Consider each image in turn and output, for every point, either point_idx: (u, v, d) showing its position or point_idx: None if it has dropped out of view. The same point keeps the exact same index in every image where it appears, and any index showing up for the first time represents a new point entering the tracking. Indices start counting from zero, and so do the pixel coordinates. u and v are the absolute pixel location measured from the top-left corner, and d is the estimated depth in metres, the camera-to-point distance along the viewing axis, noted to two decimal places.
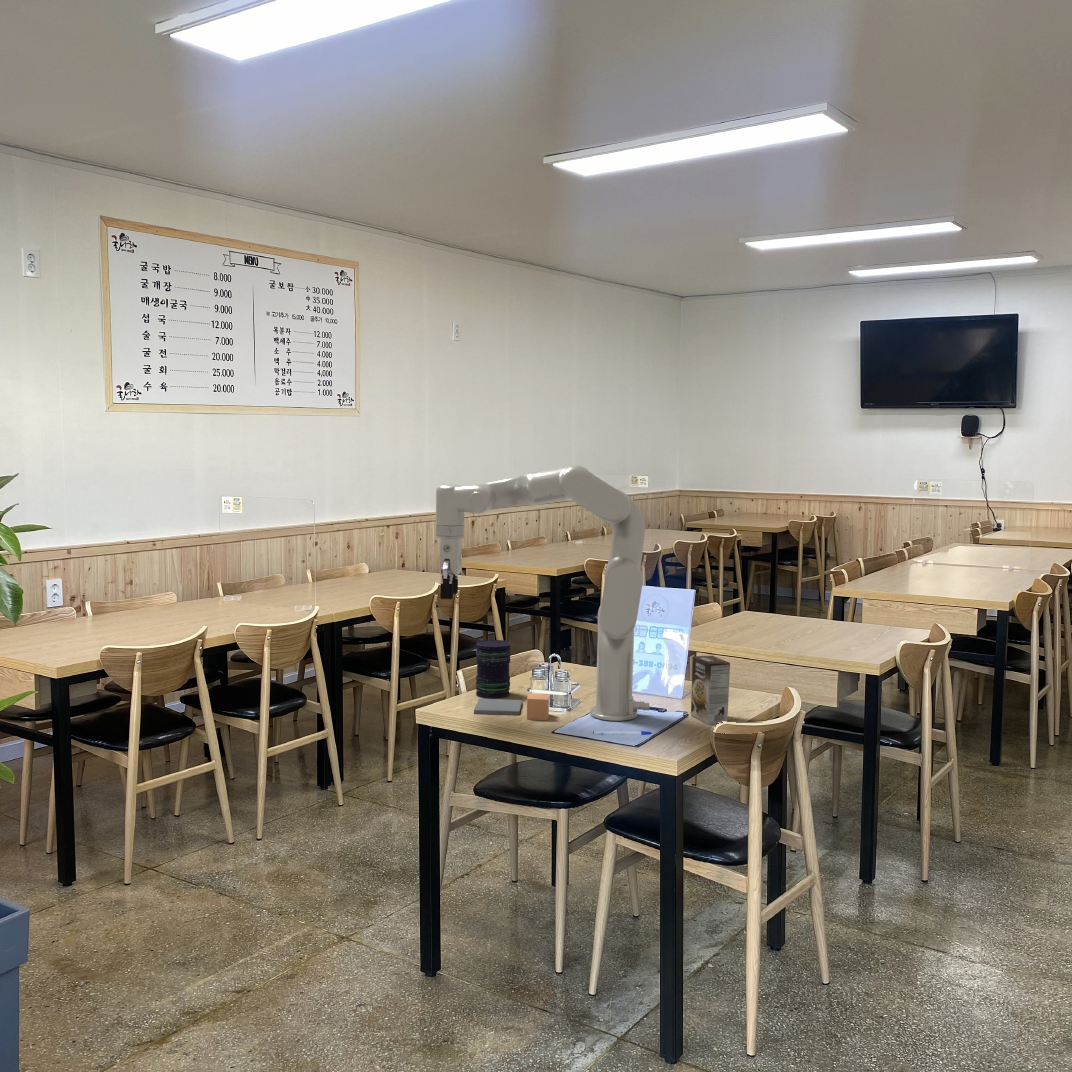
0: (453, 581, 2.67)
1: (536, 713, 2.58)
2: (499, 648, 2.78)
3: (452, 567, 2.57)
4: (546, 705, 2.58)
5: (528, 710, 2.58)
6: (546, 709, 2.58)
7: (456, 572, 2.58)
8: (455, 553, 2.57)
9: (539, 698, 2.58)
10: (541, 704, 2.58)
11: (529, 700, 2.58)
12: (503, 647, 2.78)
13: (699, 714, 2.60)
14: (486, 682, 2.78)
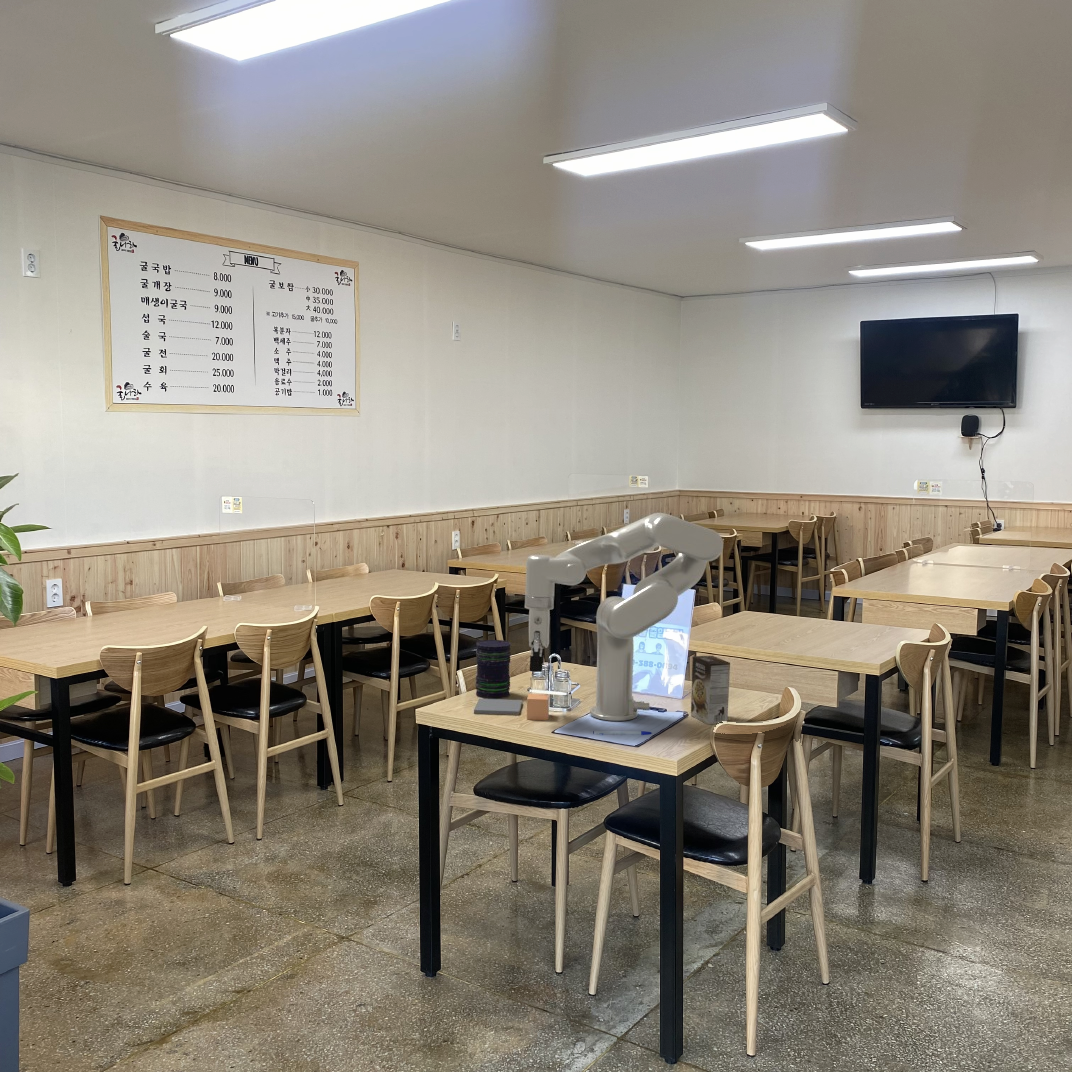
0: None
1: (536, 713, 2.58)
2: (499, 648, 2.78)
3: (542, 639, 2.54)
4: (546, 705, 2.58)
5: (528, 710, 2.58)
6: (546, 709, 2.58)
7: (546, 644, 2.54)
8: (546, 625, 2.54)
9: (539, 698, 2.58)
10: (541, 704, 2.58)
11: (529, 700, 2.58)
12: (503, 647, 2.78)
13: (699, 714, 2.60)
14: (486, 682, 2.78)
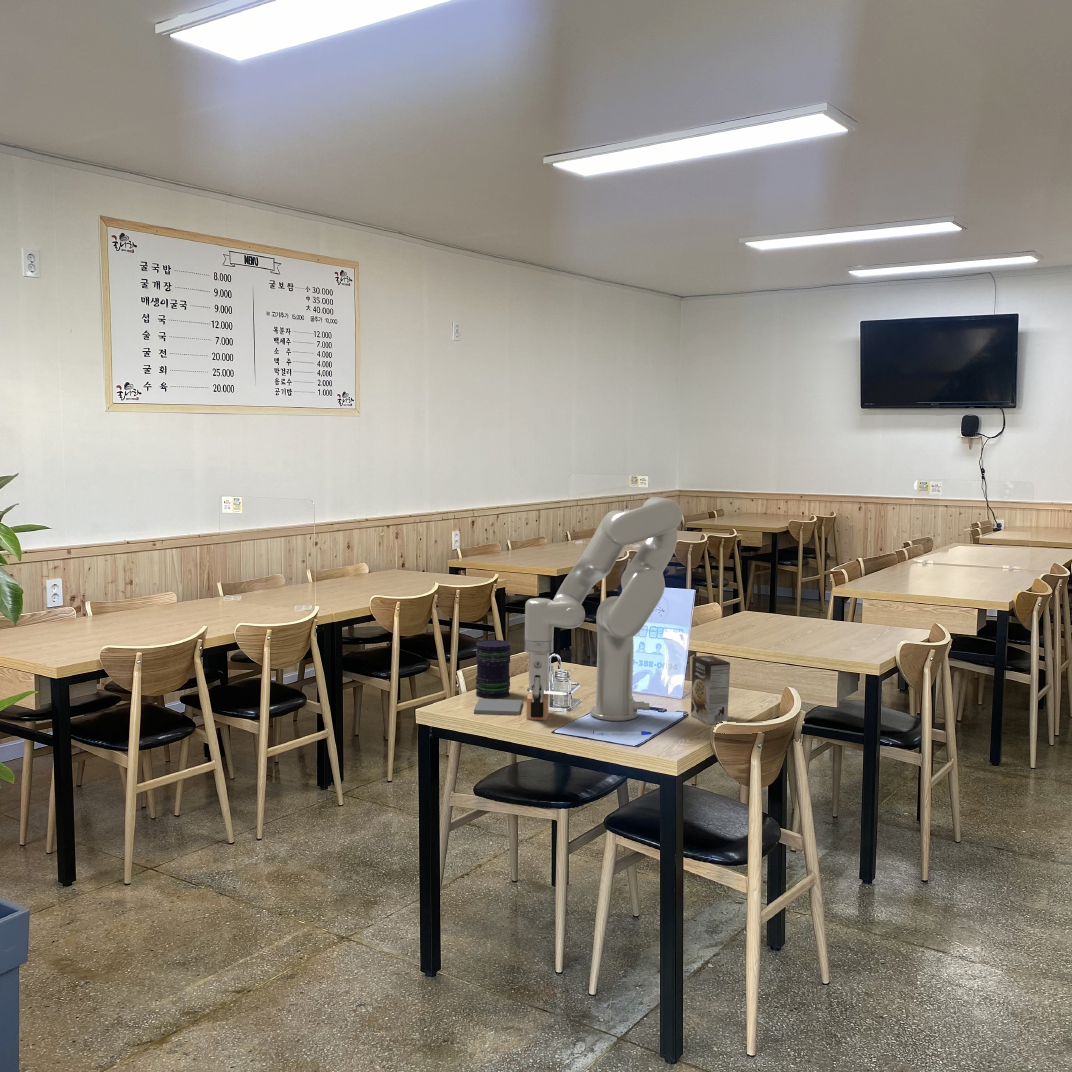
0: None
1: None
2: (499, 648, 2.78)
3: (542, 683, 2.55)
4: (546, 705, 2.58)
5: (528, 710, 2.58)
6: (546, 709, 2.58)
7: (546, 688, 2.55)
8: (546, 669, 2.55)
9: None
10: None
11: (529, 700, 2.58)
12: (503, 647, 2.78)
13: (699, 714, 2.60)
14: (486, 682, 2.78)
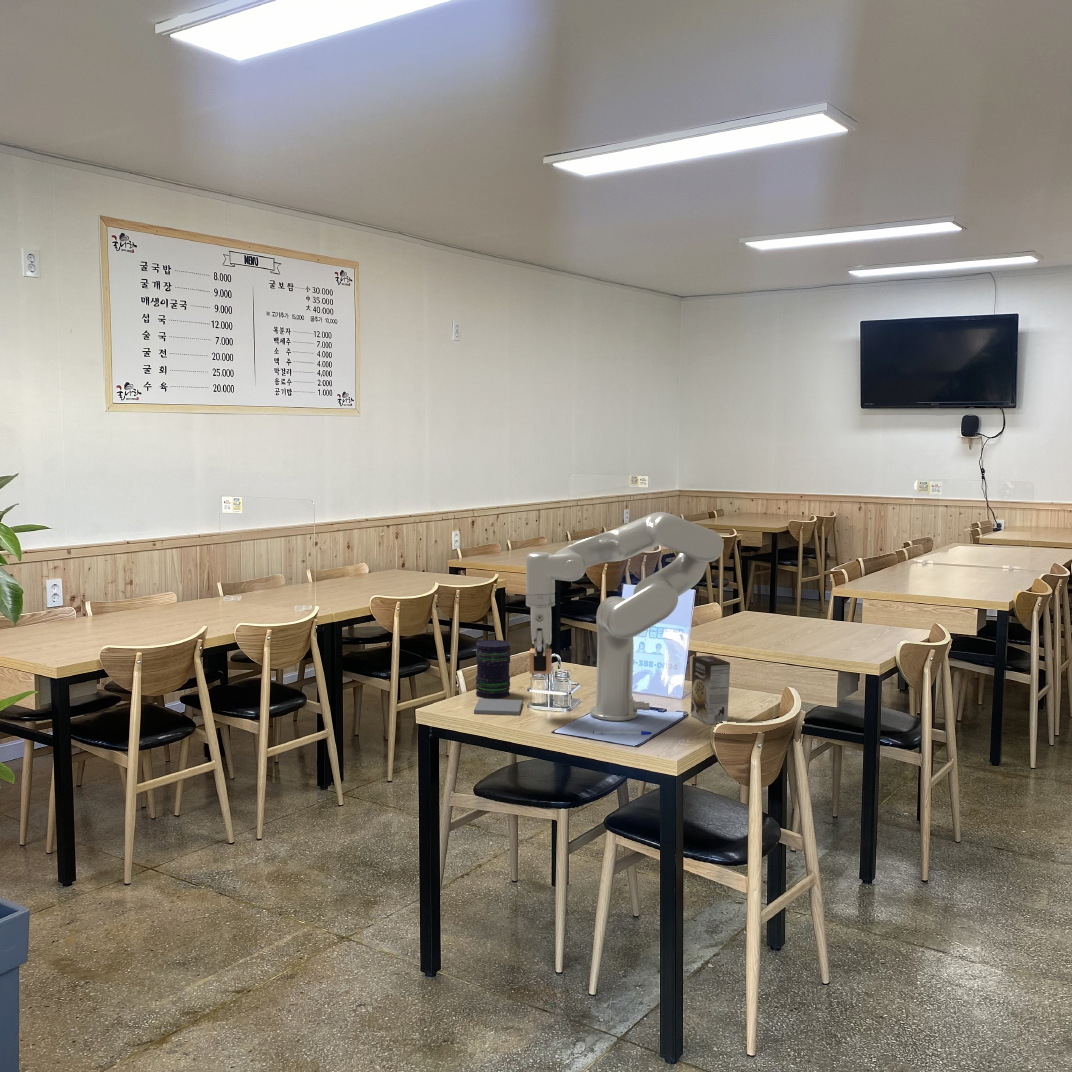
0: None
1: None
2: (499, 648, 2.78)
3: (545, 637, 2.54)
4: (548, 658, 2.57)
5: (530, 664, 2.57)
6: (549, 662, 2.57)
7: (549, 641, 2.54)
8: (548, 622, 2.54)
9: None
10: None
11: (531, 654, 2.57)
12: (503, 647, 2.78)
13: (699, 714, 2.60)
14: (486, 682, 2.78)
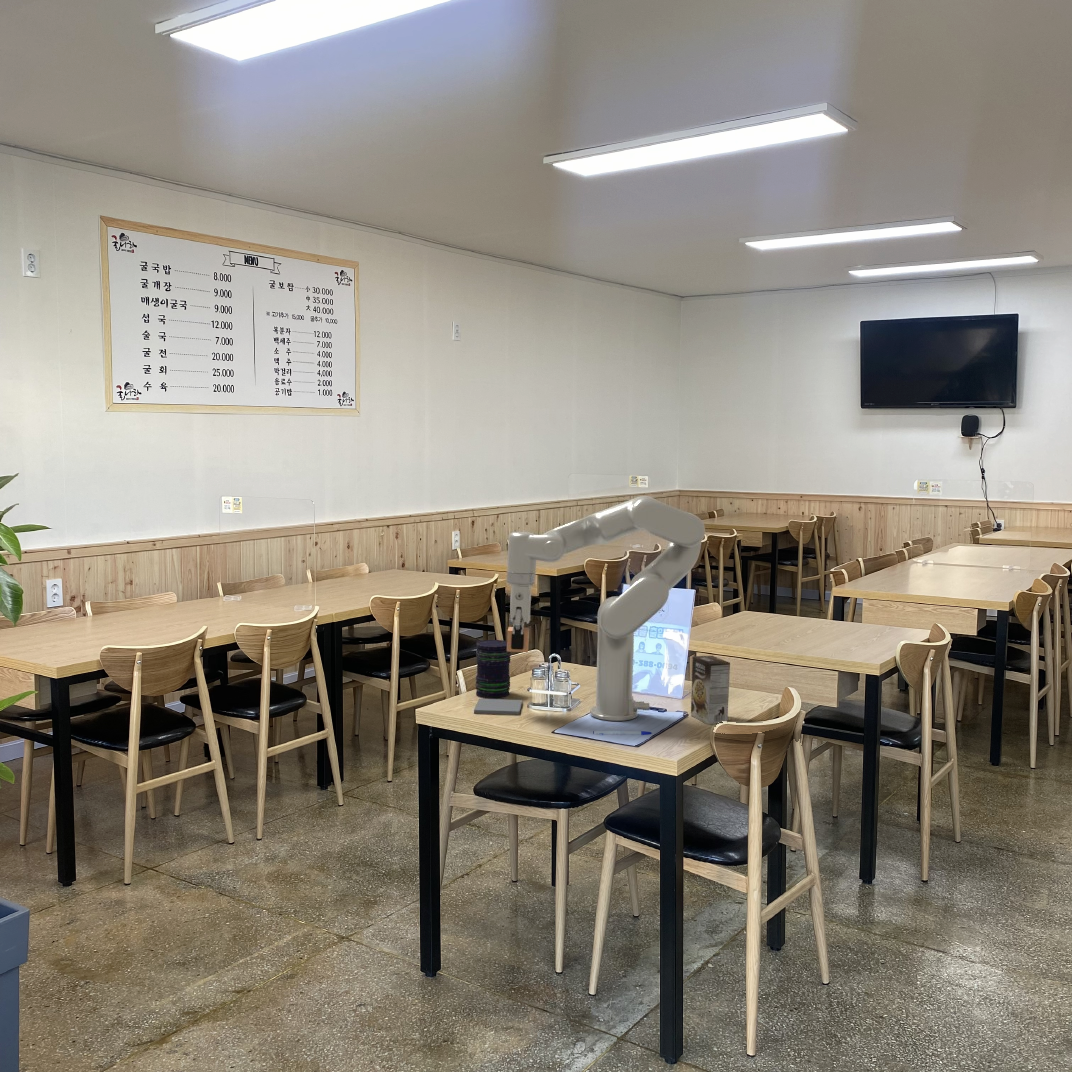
0: None
1: None
2: (499, 648, 2.78)
3: (524, 615, 2.57)
4: (526, 637, 2.60)
5: (508, 642, 2.60)
6: (526, 641, 2.60)
7: (527, 620, 2.57)
8: (527, 601, 2.57)
9: None
10: None
11: (509, 632, 2.60)
12: (503, 647, 2.78)
13: (699, 714, 2.60)
14: (486, 682, 2.78)
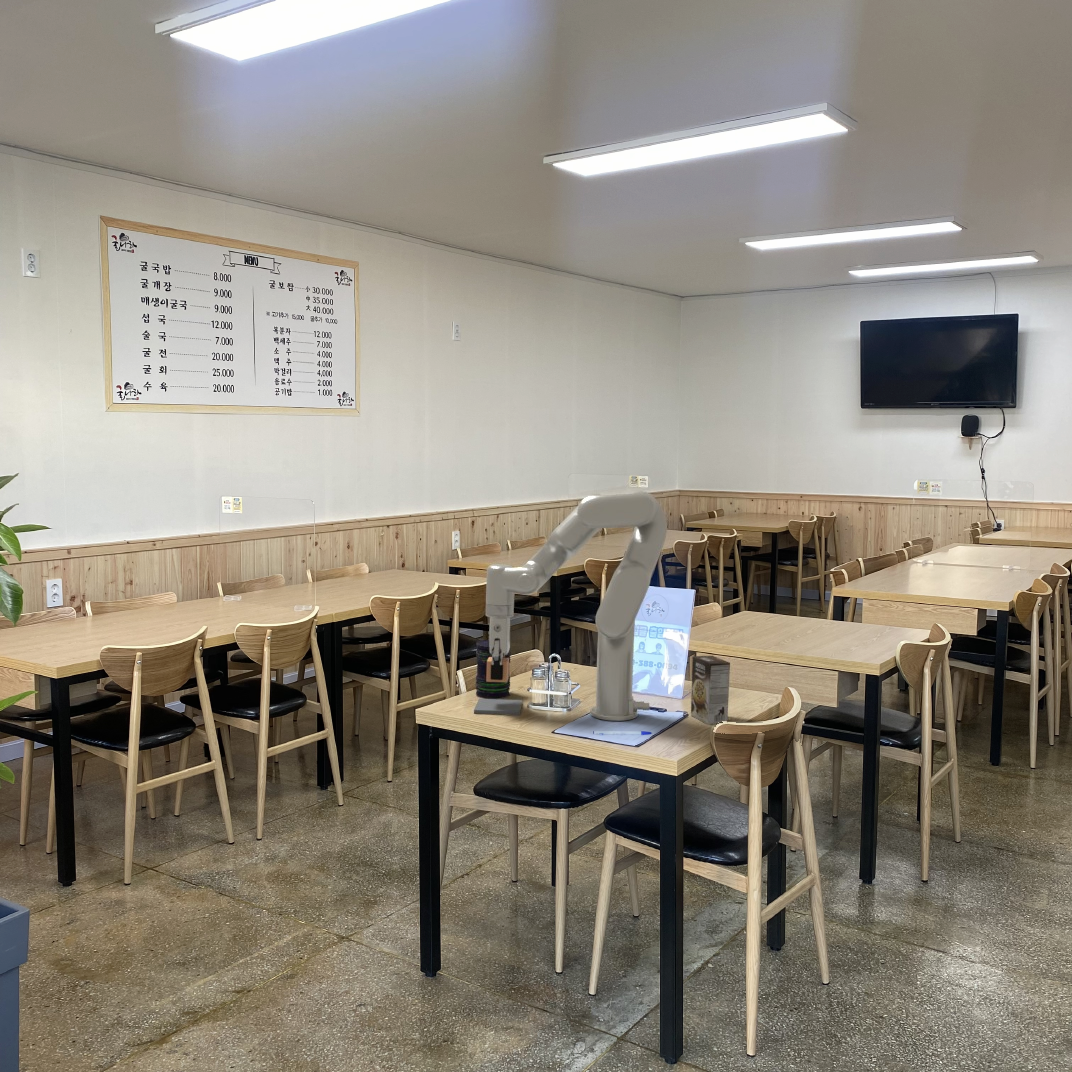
0: None
1: None
2: None
3: (502, 646, 2.62)
4: (505, 667, 2.64)
5: (488, 672, 2.65)
6: (505, 671, 2.65)
7: (506, 651, 2.62)
8: (505, 633, 2.62)
9: None
10: None
11: (489, 662, 2.65)
12: None
13: (699, 714, 2.60)
14: (486, 682, 2.78)
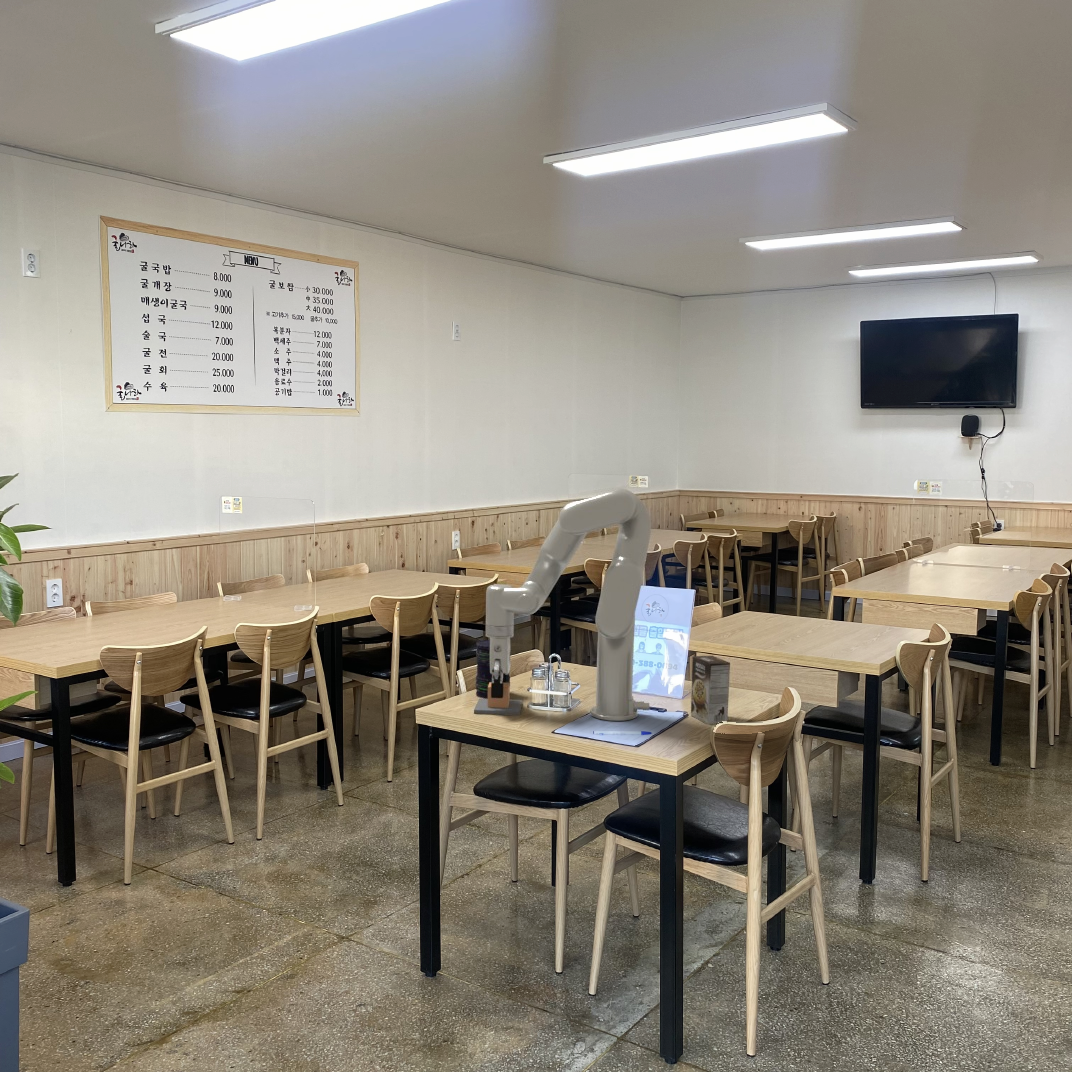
0: None
1: (497, 701, 2.65)
2: None
3: (503, 667, 2.62)
4: (506, 693, 2.65)
5: (489, 698, 2.65)
6: (506, 697, 2.65)
7: (506, 672, 2.63)
8: (505, 653, 2.62)
9: None
10: None
11: (490, 688, 2.65)
12: None
13: (699, 714, 2.60)
14: (486, 682, 2.78)
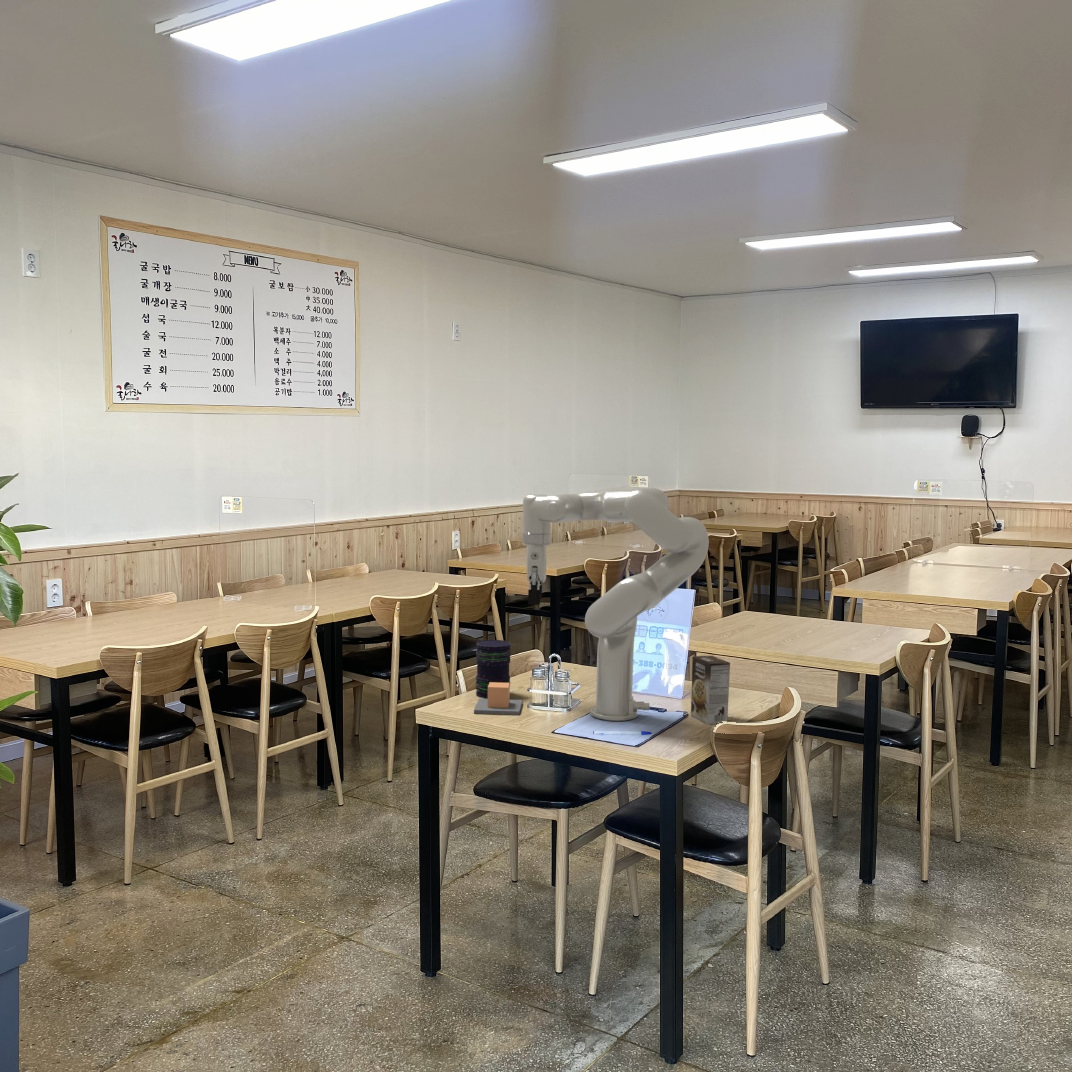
0: None
1: (497, 701, 2.65)
2: (499, 648, 2.78)
3: (540, 574, 2.67)
4: (506, 693, 2.65)
5: (489, 698, 2.65)
6: (506, 697, 2.65)
7: (543, 579, 2.67)
8: (542, 560, 2.67)
9: (500, 686, 2.66)
10: (501, 692, 2.65)
11: (490, 688, 2.65)
12: (503, 647, 2.78)
13: (699, 714, 2.60)
14: (486, 682, 2.78)
